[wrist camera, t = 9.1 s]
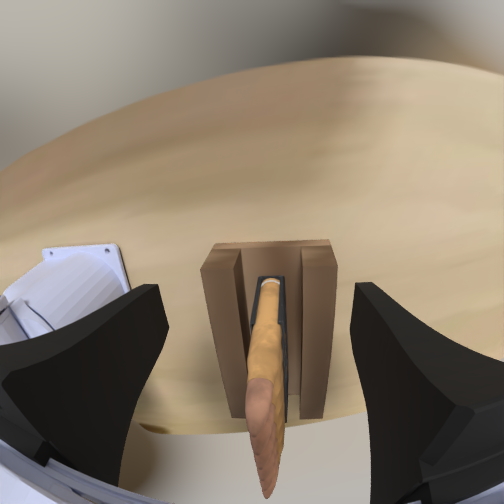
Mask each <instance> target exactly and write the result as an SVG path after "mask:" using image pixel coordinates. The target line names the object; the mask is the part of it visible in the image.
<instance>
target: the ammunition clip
mask: <svg viewBox="0 0 504 504" xmlns="http://www.w3.org/2000/svg"><path fill="white" fill-rule="evenodd" d="M250 329H251V341H250V347H249V353H248V358H247V366H248V378H247V391H246V400H245V413H246V421H247V427H248V430H249V433H250V440H251V445H252V448H253V452H254V458H255V462H256V466H257V471H258V475H259V479H260V483H261V487H262V492H263V495H264V497H265V498H266V499H268V498H269V497H270V495H271V494H272V492H273V490H274V487H275V484H276V481H277V476H278V470H279V464H280V456H281V453H282V449H283V445H284V431H285V423H287V407H288V382H289V374H288V341H287V315H286V293H285V277H284V276H283V275H277V276H259V277H258V280H257V286H256V292H255V297H254V302H253V308H252V313H251V319H250Z"/></svg>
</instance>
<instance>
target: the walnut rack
mask: <svg viewBox="0 0 504 504" xmlns="http://www.w3.org/2000/svg"><path fill="white" fill-rule="evenodd" d="M337 270H338V265H337V262H336V259H335V256H334V253H333V250H332V247H331V244H330V241H329V240H303V241H274V242H247V243H222V244H215V245H214V246H213V248H212V250H211V252H210V253H209V255H208V257H207V258H206V260H205V262H204V264H203V265H202V267H201V269H200V271H201V277H202V282H203V288H204V293H205V298H206V303H207V309H208V314H209V319H210V324H211V329H212V333H213V338H214V343H215V348H216V352H217V357H218V361H219V366H220V370H221V375H222V379H223V383H224V388H225V392H226V396H227V400H228V404H229V408H230V412H231V416H232V418H245V419H246V413H245V400H246V391H247V378H248V366H247V358H248V353H249V347H250V341H251V329H250V319H251V313H252V308H253V302H254V297H255V292H256V286H257V280H258V277H259V276H277V275H283V276H284V277H285V293H286V315H287V341H288V374H289V382H288V395H292V394H300V419H322V418H323V412H324V405H325V398H326V391H327V384H328V376H329V368H330V359H331V350H332V340H333V329H334V317H335V304H336V289H337Z"/></svg>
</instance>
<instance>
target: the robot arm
mask: <svg viewBox="0 0 504 504" xmlns="http://www.w3.org/2000/svg"><path fill="white" fill-rule="evenodd" d="M107 249H109V251H110V252H108V250H107ZM52 252H53V253H52ZM42 255H43V258H44V260H43V261H42V262H41V263H39V264H38V265H36V266H35V267H34V268H32V269H31V270H30V271H28V272H27V273H26V274H24V275H23V276H22V277H20V278H19V279H18V280H16V281H15V282H14V283H13V284H11V285H10V286H9V287H8V288H7V289H6V290H5V291H4V293H3V295H0V504H93V503H91V502H90V501H88V500H86V499H89V500H91V501H93V502H95V503H98V504H173V503H169V502H165V501H161V500H157V499H153V498H149V497H146V496H143V495H139V494H136V493H133V492H130V491H127V490H124V489H121V488H118V481H119V473H120V466H121V460H122V455H123V450H124V446H125V441H126V437H127V433H128V430H129V426H130V422H131V419H132V416H133V413H134V410H135V407H136V404H137V401H138V398H139V396H140V394H141V391H142V389H143V387H144V385H145V383H146V381H147V379H148V377H149V375H150V373H151V371H152V369H153V367H154V365H155V363H156V361H157V359H158V357H159V355H160V353H161V351H162V349H163V346H164V343H165V340H166V337H167V333H168V330H169V325H168V321H167V317H166V314H165V310H164V306H163V302H162V298H161V294H160V290H159V286H158V284H143V285H141V286H138V287H136V288H134V289H132V290H131V291H130V287H129V284H128V280H127V277H126V273H125V270H124V266H123V262H122V259H121V255H120V251H119V248H118V246H117V245H115V244H99V245H83V246H68V247H53V248H45V249H43V250H42ZM350 336H351V343H352V350H353V355H354V359H355V363H356V367H357V370H358V374H359V378H360V382H361V386H362V390H363V394H364V398H365V402H366V408H367V414H368V424H369V435H370V449H371V450H370V452H371V495H370V504H504V362H502V361H499V360H496V359H493V358H490V357H488V356H485V355H482V354H480V353H477V352H475V351H473V350H471V349H468V348H466V347H464V346H462V345H460V344H458V343H456V342H454V341H452V340H450V339H449V338H447V337H445V336H444V335H442V334H440V333H439V332H437V331H435V330H434V329H432V328H431V327H429V326H427V325H426V324H425V323H423V322H422V321H420V320H419V319H418V318H416V317H415V316H413V315H412V314H411V313H410V312H408V311H407V310H406V309H404V308H403V307H402V306H401V305H399V304H398V303H397V302H396V301H395V300H393V299H392V298H391V297H390V296H389V295H387V294H386V293H385V292H384V291H383V290H381V289H380V288H379V287H378V286H376V285H375V284H374V283H372V282H362V283H355V290H354V299H353V308H352V316H351V323H350ZM81 496H82V497H84V498H86V499H84V498H82V497H81Z"/></svg>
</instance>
